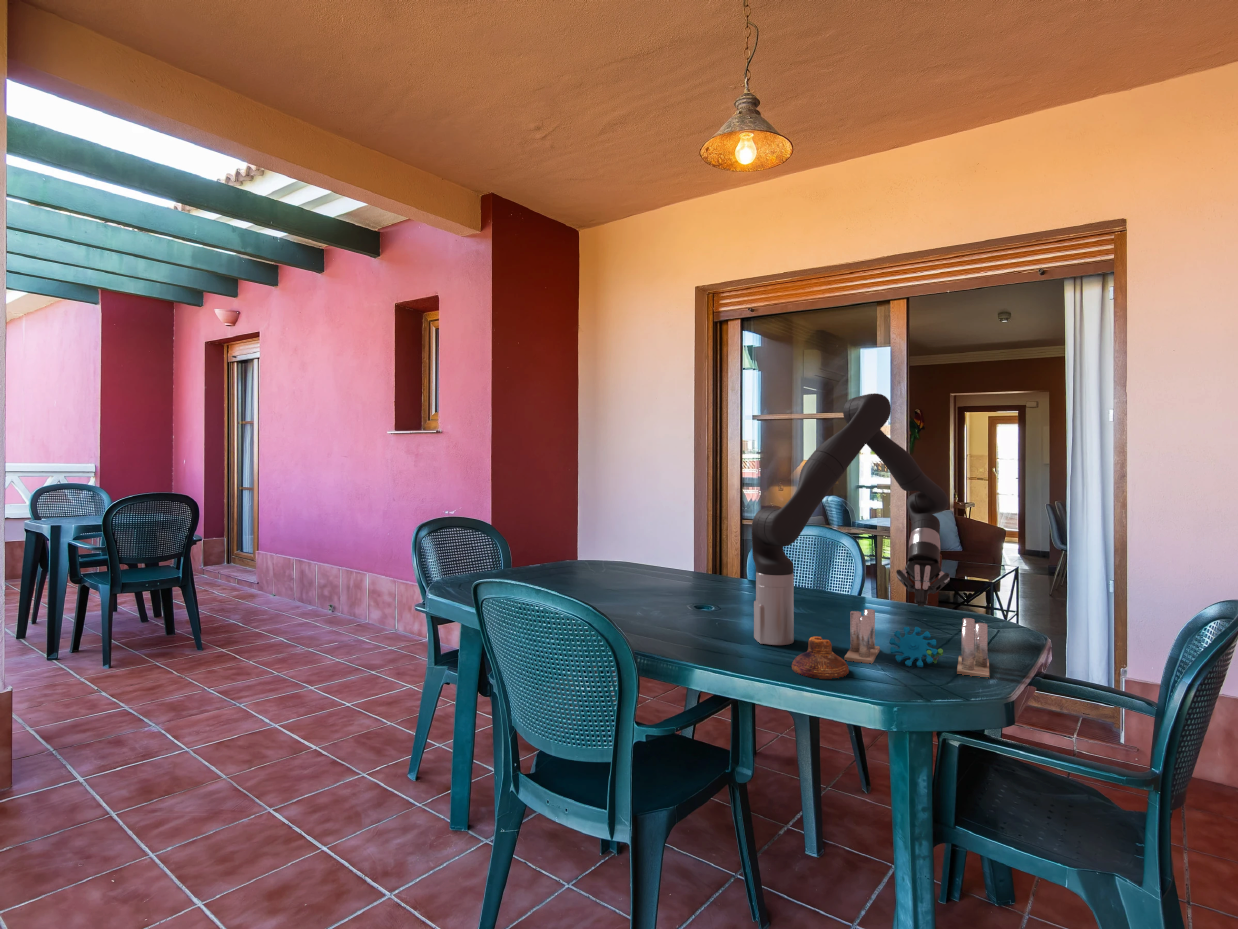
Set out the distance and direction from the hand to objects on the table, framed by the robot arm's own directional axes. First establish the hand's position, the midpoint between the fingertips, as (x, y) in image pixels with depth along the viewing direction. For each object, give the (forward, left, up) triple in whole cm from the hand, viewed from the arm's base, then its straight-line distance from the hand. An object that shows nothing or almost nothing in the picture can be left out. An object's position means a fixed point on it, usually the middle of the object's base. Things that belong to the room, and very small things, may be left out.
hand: (920, 604), depth 171 cm
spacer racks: (-8, -14, -10) cm, 19 cm away
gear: (-9, -15, -10) cm, 21 cm away
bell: (-32, -20, -10) cm, 39 cm away
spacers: (-8, -14, -9) cm, 18 cm away
